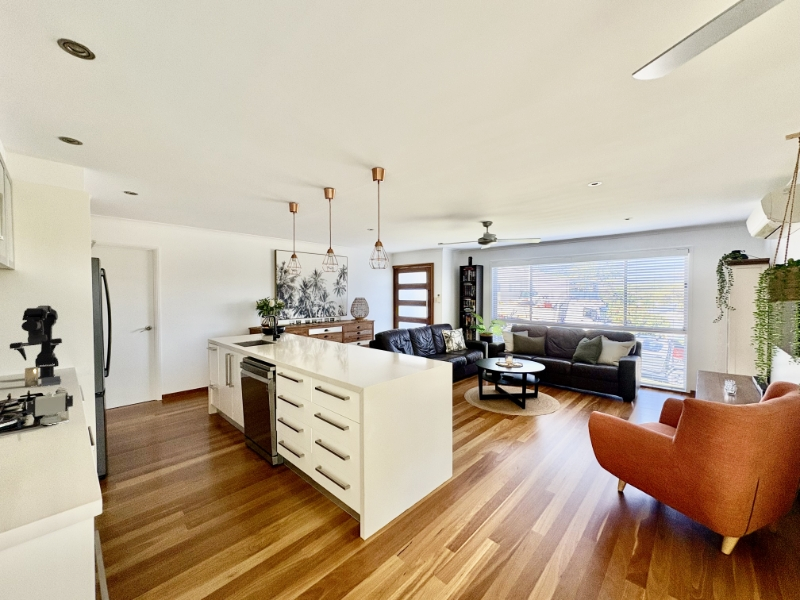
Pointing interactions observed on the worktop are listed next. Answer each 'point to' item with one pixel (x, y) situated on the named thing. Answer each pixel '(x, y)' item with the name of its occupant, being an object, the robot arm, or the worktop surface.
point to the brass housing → (31, 376)
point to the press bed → (50, 381)
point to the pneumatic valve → (50, 407)
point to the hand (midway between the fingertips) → (38, 358)
